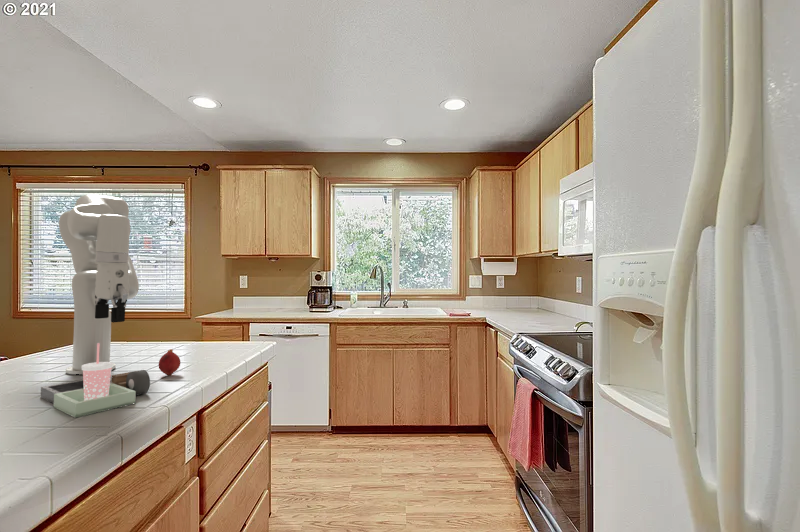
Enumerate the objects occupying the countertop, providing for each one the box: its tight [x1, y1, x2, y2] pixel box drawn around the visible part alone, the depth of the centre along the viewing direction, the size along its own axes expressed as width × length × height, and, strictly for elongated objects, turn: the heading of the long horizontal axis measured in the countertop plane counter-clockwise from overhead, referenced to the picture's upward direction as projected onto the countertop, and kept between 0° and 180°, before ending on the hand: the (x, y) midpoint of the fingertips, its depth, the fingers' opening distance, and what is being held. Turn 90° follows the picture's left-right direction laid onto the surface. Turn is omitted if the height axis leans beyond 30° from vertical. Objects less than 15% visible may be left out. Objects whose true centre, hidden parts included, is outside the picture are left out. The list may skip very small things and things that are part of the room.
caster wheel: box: [126, 369, 151, 396], centre depth 106 cm, size 6×3×6 cm, turn 57°
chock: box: [111, 370, 135, 388], centre depth 110 cm, size 5×6×4 cm
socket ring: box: [40, 379, 84, 404], centre depth 104 cm, size 10×10×2 cm
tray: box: [53, 382, 137, 418], centre depth 97 cm, size 12×12×3 cm
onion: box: [158, 348, 181, 376], centre depth 126 cm, size 6×6×8 cm
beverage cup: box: [82, 343, 114, 401], centre depth 97 cm, size 6×6×14 cm
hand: (109, 320), depth 115 cm, fingers open, 9 cm apart
